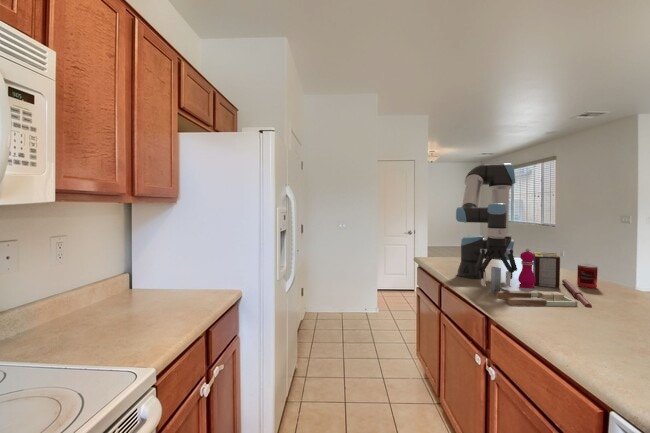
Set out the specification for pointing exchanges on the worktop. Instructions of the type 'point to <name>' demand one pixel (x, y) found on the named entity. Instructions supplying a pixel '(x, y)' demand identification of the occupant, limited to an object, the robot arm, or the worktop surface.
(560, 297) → the light wooden cube
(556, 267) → the protein box
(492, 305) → the worktop surface
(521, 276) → the pepper mill
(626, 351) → the worktop surface
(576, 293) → the rolling pin
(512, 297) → the groove board
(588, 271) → the canned food
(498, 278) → the t-shaped gray bracket
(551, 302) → the tray
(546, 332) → the worktop surface
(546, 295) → the beige cube
